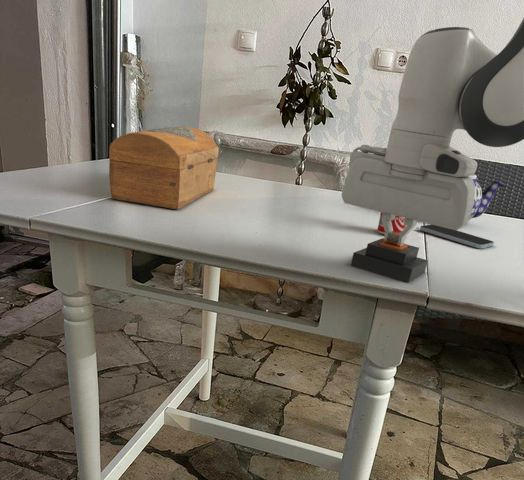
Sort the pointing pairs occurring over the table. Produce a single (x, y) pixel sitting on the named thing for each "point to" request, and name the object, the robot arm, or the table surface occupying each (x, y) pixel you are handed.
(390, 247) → the orange square block
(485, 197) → the teapot
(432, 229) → the smartphone
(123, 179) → the wooden box
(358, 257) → the push button
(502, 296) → the table surface
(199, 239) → the table surface
